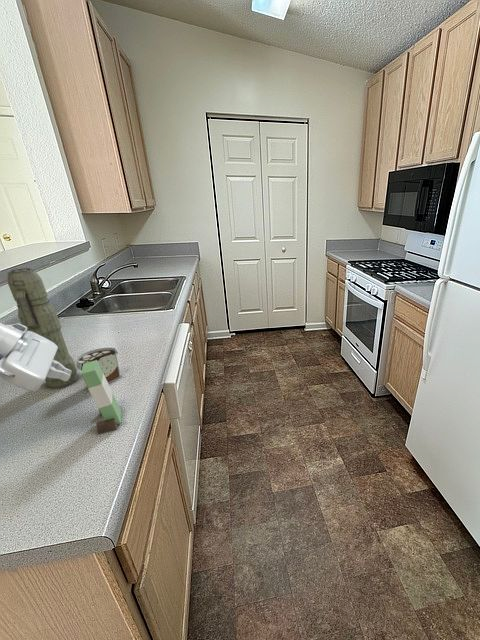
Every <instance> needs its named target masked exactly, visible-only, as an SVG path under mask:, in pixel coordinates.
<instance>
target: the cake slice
mask: <svg viewBox="0 0 480 640" xmlns="http://www.w3.org/2000/svg"><path fill="white" fill-rule="evenodd" d="M117 350H118V349H116V348H115V347H101V348H100V347H99V348H95V349H92V350H89V351H85V352H83V353H81V354H80V355H79V356H77V358H76V361H75V362H76V363H75V364H76V369H77V370H79V371H82V367H83V364H84V363H88V362H91V361H95V360H97V362H98V364H99V366H100V368H101V370H102V372H103V374H104V376H105V378H106V380H107V382H108V384H111V383H113V382H114V381H117V380H119V379H120V378H121V372H120V367H119V361H118V356H117V355H118V354H119V352H118V351H117Z"/></svg>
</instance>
